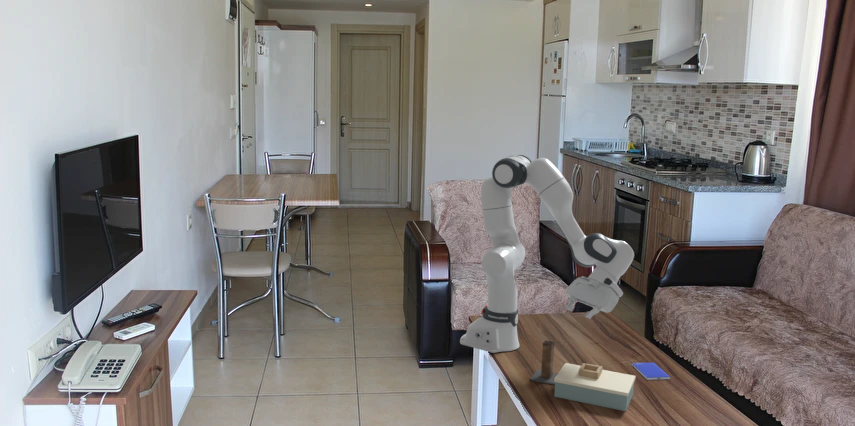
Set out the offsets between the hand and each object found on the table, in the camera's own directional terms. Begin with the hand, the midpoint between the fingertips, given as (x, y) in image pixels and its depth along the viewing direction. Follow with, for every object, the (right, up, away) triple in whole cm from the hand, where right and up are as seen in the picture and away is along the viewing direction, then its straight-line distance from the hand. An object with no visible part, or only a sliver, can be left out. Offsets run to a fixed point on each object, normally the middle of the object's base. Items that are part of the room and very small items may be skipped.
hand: (577, 313), depth 234 cm
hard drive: (+26, -22, +5) cm, 35 cm away
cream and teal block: (+2, -24, -15) cm, 28 cm away
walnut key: (-11, -21, -2) cm, 24 cm away
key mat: (-11, -21, -2) cm, 24 cm away
